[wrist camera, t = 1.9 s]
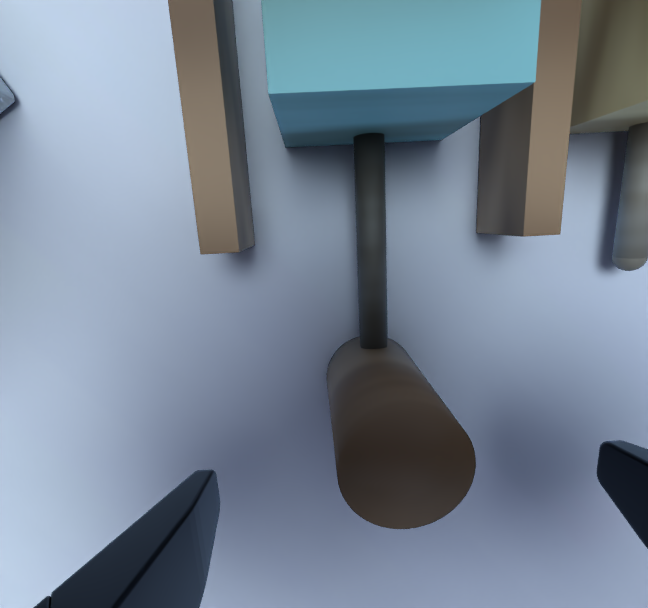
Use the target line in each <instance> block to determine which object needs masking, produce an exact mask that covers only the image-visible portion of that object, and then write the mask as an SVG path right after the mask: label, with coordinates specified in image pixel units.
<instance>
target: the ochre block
mask: <svg viewBox="0 0 648 608" xmlns="http://www.w3.org/2000/svg"><path fill="white" fill-rule="evenodd" d="M621 131H628V139H627V146H626V154H625V162H624V169H623V177H622V185H621V192H620V200H619V208H618V216H617V223H616V231H615V239H614V246H613V254H612V261H613V263H614V265H615V266H616V267H617V268H619V269H621V270H625V271H632V270H636V269H639V268H640V267H642V266H643V265H644V264H645V263H646V261H647V259H648V0H582V4H581V15H580V26H579V37H578V48H577V58H576V69H575V80H574V91H573V102H572V113H571V123H570V134H579V133H600V132H621Z"/></svg>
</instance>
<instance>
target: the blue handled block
mask: <svg viewBox="0 0 648 608" xmlns="http://www.w3.org/2000/svg"><path fill="white" fill-rule="evenodd" d="M261 5H262V17H263V30H264V43H265V56H266V69H267V81H268V94H269V97H270V100H271V103H272V106H273V110H274V113H275V116H276V119H277V122H278V125H279V128H280V132H281V135H282V138H283V141H284V144H285V147H306V146H327V145H348V144H354V169H355V201H356V232H357V264H358V295H359V326H360V337H357V338H354V339H352V340H350V341H348V342H346V343H345V344H344V345H342V346H341V347H340V348H339V349H338V350H337V351H336V352H335V354H334V355H333V357H332V358H331V360H330V363H329V366H328V369H327V387H328V396H329V405H330V414H331V423H332V432H333V441H334V451H335V460H336V469H337V477H338V484H339V488H340V491H341V493H342V496H343V498H344V499H345V501H346V502H347V504H348V505H349V506H350V508H351V509H352V510H353V511H354V512H355V513H356V514H358V515H359V516H360V517H362V518H363V519H365V520H366V521H369V522H371V523H373V524H375V525H378V526H381V527H386V528H392V529H410V528H416V527H421V526H424V525H427V524H430V523H433V522H435V521H437V520H439V519H441V518H442V517H444V516H445V515H447V514H448V513H450V512H451V511H452V510H453V509H454V508H455V507H456V506H457V505H458V504H459V503H460V502H461V501H462V500H463V498H464V497H465V496H466V494H467V492H468V490H469V489H470V486H471V484H472V482H473V478H474V474H475V467H476V459H475V452H474V448H473V445H472V442H471V440H470V438H469V437H468V435H467V433H466V432H465V431H464V429H463V428H462V427H461V425H460V424H459V423H458V421H457V420H456V419H455V417H454V416H453V415H452V413H451V412H450V410H449V409H448V408H447V406H446V405H445V404H444V402H443V401H442V400H441V398H440V397H439V396H438V394H437V393H436V392H435V390H434V389H433V388H432V386H431V385H430V384H429V382H428V381H427V380H426V378H425V377H424V375H423V374H422V373H421V371H420V370H419V369H418V367H417V366H416V365H415V363H414V362H413V361H412V359H411V358H410V357H409V355H408V354H407V353H406V351H405V350H404V349H403V348H402V347H401V346H400V345H399V344H398V343H396V342H395V341H393V340H391V339H389V338H387V278H386V208H385V143H389V142H410V141H431V140H442V139H444V138H445V137H447V136H449V135H450V134H452V133H454V132H455V131H457V130H458V129H460V128H462V127H463V126H465V125H467V124H468V123H470V122H471V121H473V120H475V119H476V118H478V117H480V116H481V115H483V114H484V113H486V112H488V111H489V110H491V109H493V108H494V107H496V106H497V105H499V104H501V103H502V102H504V101H506V100H507V99H509V98H510V97H512V96H514V95H515V94H517V93H518V92H520V91H522V90H523V89H525V88H527V87H528V86H530V85H531V84H533V83H535V81H536V67H537V52H538V38H539V23H540V9H541V0H261Z"/></svg>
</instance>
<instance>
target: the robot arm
mask: <svg viewBox="0 0 648 608" xmlns="http://www.w3.org/2000/svg"><path fill="white" fill-rule="evenodd" d="M597 477H598V480H599V482H600V484H601V485H602V487H603V488H604V489H605V491H606V492H607V494H608V495H609V496H610V498H611V499H612V501H613V502H614V503H615V505H616V506H617V507H618V509H619V510H620V512H621V513H622V514H623V516H624V517H625V519H626V520H627V521H628V523H629V524H630V525H631V527H632V528H633V530H634V531H635V532H636V534H637V535H638V537H639V538H640V539H641V541H642V542H643V543H644V545H645V546H646V547H647V549H648V449H645V448H642V447H639V446H637V445H634V444H631V443H628V442H625V441H620V440H618V441H606V442H603V443H602V444H601V446H600V450H599V457H598V465H597ZM219 511H220V497H219V490H218V483H217V476H216V472H215V471H214V470H212V469H211V470H198V471H196V472H194V473H193V474H192V475H190V476H189V477H188V478H187V479H186V480H185V481H183V482H182V483H181V484H180V485H179V486H177V487H176V488H175V489H174V490H173V491H172V492H170V493H169V494H168V495H167V496H166V497H164V498H163V499H162V500H161V501H160V502H158V503H157V504H156V505H155V506H154V507H153V508H151V509H150V510H149V511H148V512H147V513H145V514H144V515H143V516H142V517H141V518H140V519H138V520H137V521H136V522H135V523H134V524H132V525H131V526H130V527H129V528H128V529H126V530H125V531H124V532H123V533H122V534H121V535H119V536H118V537H117V538H116V539H115V540H113V541H112V542H111V543H110V544H109V545H107V546H106V547H105V548H104V549H103V550H102V551H100V552H99V553H98V554H97V555H96V556H94V557H93V558H92V559H91V560H90V561H89V562H87V563H86V564H85V565H84V566H83V567H81V568H80V569H79V570H78V571H77V572H75V573H74V574H73V575H72V576H71V577H70V578H68V579H67V580H66V581H65V582H64V583H62V584H61V585H60V586H59V587H58V588H56V589H55V590H54V591H53V592H52V594H51V597H50V596H47V597H46V598H44V599H43V600H42V601H41V602H40V603H38V604H37V605H36V606H35V607H34V608H199V607H200V604H201V600H202V597H203V593H204V589H205V585H206V581H207V576H208V571H209V565H210V560H211V554H212V549H213V544H214V538H215V533H216V527H217V522H218V517H219Z"/></svg>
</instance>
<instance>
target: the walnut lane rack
mask: <svg viewBox="0 0 648 608" xmlns="http://www.w3.org/2000/svg"><path fill="white" fill-rule="evenodd" d="M168 4H169V12H170V20H171V28H172V35H173V43H174V51H175V59H176V67H177V74H178V82H179V90H180V98H181V106H182V113H183V121H184V129H185V137H186V145H187V153H188V160H189V168H190V176H191V184H192V192H193V199H194V207H195V215H196V223H197V231H198V238H199V246H200V254H217V253H235V252H241V251H243V250H245V249H247V248H250V247H252V246H254V245H255V241H254V230H253V219H252V209H251V198H250V187H249V177H248V166H247V155H246V145H245V134H244V123H243V113H242V102H241V92H240V81H239V70H238V60H237V49H236V38H235V28H234V17H233V6H232V0H168ZM581 4H582V0H541V9H540V23H539V38H538V52H537V67H536V81H535V83H533V84H531V85H530V86H528V87H527V88H525V89H523V90H522V91H520V92H518V93H517V94H515V95H514V96H512V97H510V98H509V99H507V100H506V101H504V102H502V103H501V104H499V105H497V106H496V107H494V108H493V109H491V110H489V111H488V112H486V113H484V114H483V115H481V128H480V153H479V177H478V201H477V225H476V233H484V234H498V235H511V236H540V235H558V234H560V231H561V221H562V210H563V199H564V188H565V177H566V167H567V156H568V145H569V134H570V123H571V113H572V102H573V91H574V80H575V69H576V58H577V48H578V37H579V26H580V15H581Z"/></svg>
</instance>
